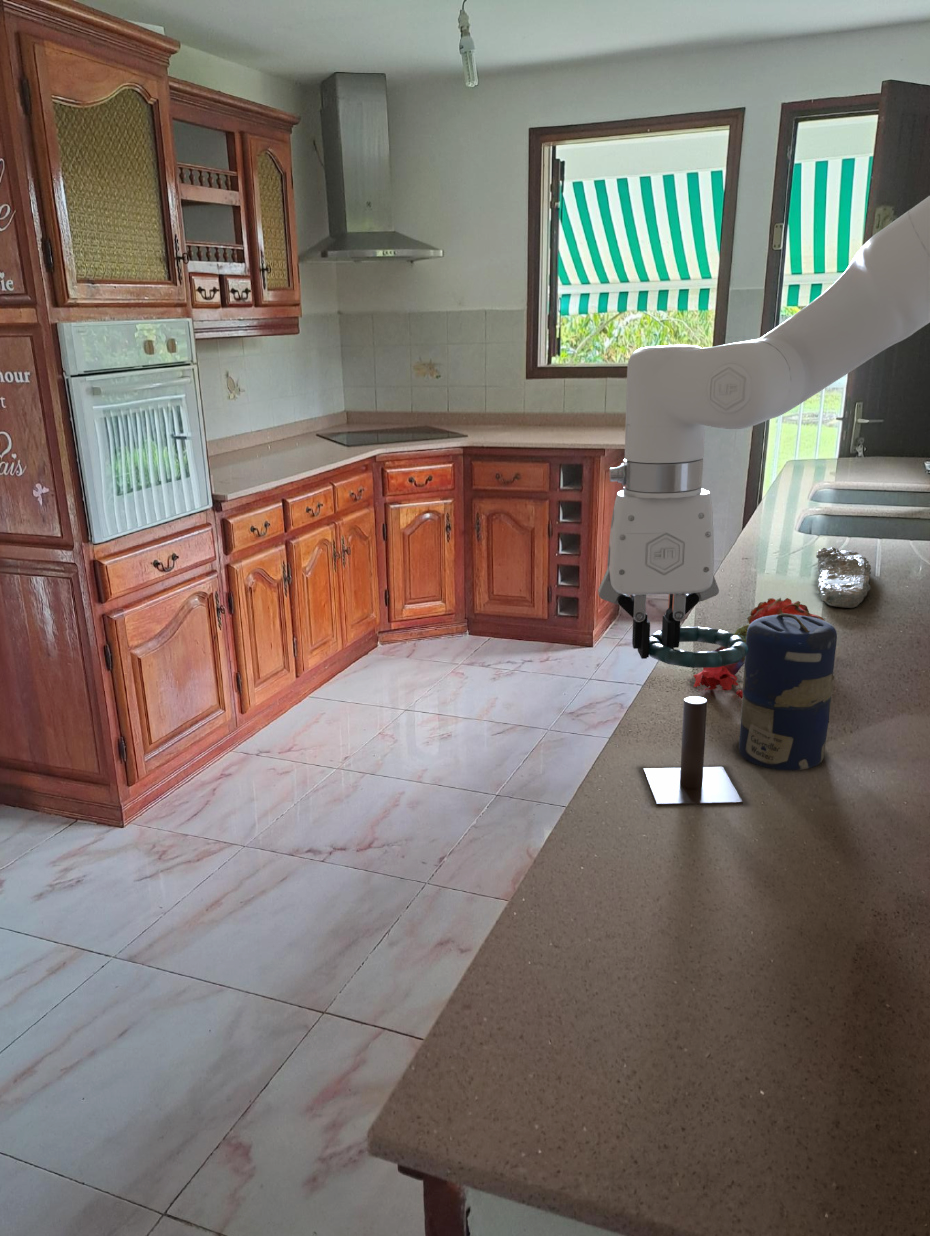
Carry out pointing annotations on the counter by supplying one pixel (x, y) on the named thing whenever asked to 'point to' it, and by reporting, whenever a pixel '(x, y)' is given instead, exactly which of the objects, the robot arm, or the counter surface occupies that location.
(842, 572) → the foil wrapped parcel
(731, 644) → the ring
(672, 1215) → the counter surface
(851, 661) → the counter surface
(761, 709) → the canister
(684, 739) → the post stand
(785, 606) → the dragon fruit
